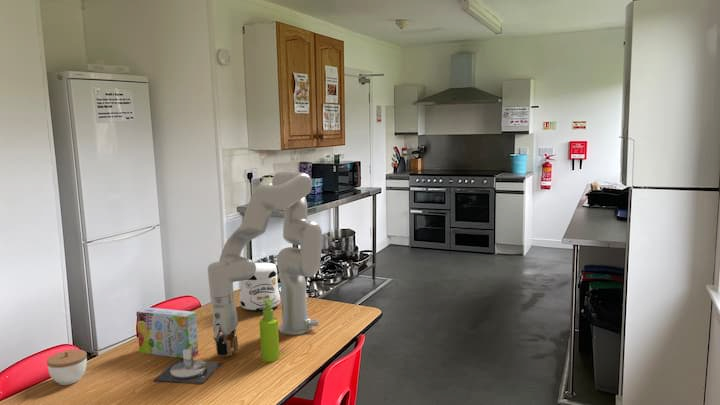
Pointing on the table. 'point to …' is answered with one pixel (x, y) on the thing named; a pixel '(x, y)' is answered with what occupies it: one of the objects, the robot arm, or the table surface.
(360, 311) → the table surface
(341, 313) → the table surface
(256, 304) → the milk container
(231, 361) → the table surface
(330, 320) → the table surface
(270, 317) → the soap dispenser
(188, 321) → the snack box
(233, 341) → the ring
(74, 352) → the lidded jar
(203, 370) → the grey peg stand
